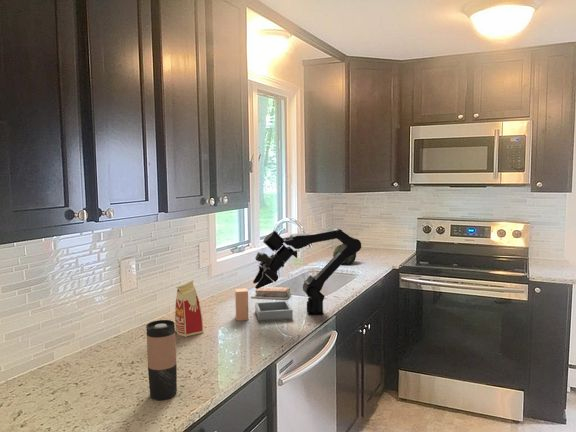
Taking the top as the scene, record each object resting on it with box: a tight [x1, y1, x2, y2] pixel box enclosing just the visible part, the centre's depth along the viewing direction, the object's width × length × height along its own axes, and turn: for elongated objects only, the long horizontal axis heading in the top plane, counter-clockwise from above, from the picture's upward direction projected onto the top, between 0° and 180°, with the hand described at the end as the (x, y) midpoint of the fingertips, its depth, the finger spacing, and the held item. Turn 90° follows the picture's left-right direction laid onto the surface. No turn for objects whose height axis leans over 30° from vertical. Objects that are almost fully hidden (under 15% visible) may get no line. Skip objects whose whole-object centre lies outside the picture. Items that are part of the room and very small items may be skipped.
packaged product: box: [250, 285, 292, 301], centre depth 231 cm, size 18×5×10 cm
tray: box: [254, 300, 294, 323], centre depth 200 cm, size 14×14×4 cm
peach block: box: [234, 287, 250, 321], centre depth 196 cm, size 5×5×12 cm
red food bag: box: [174, 279, 205, 337], centre depth 180 cm, size 9×9×20 cm
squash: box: [332, 243, 357, 266], centre depth 307 cm, size 14×15×15 cm
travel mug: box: [145, 319, 178, 401], centre depth 129 cm, size 8×8×20 cm
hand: (254, 285), depth 197 cm, fingers open, 9 cm apart
